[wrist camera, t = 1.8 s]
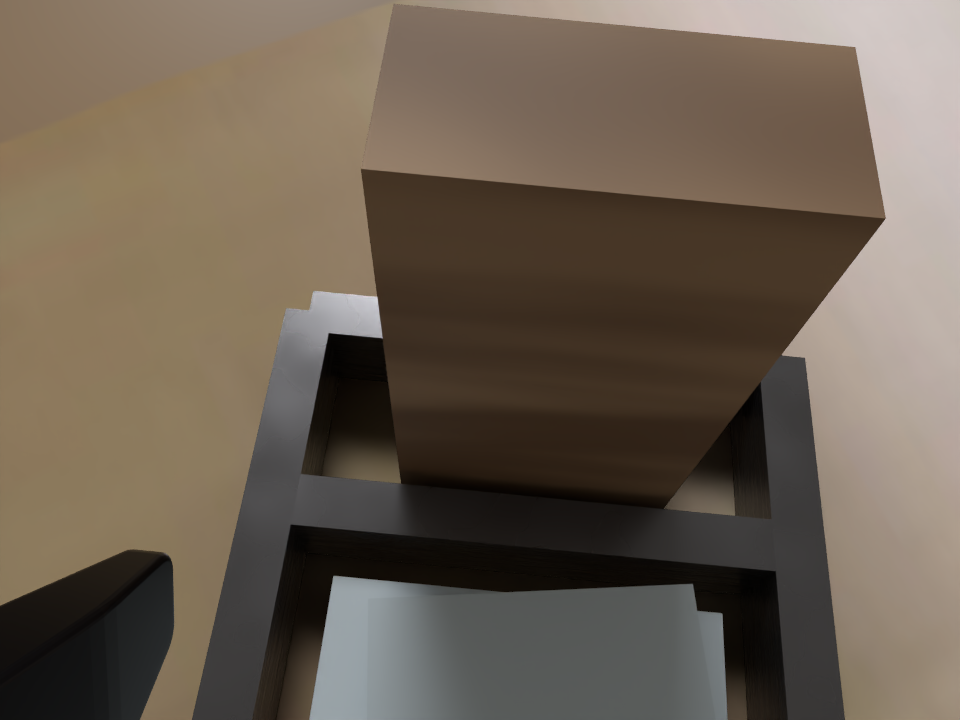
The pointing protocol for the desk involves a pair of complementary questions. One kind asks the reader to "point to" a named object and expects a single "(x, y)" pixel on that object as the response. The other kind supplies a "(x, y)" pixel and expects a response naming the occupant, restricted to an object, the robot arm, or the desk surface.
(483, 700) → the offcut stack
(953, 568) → the desk surface
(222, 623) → the dark grey divided tray
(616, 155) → the walnut panel
